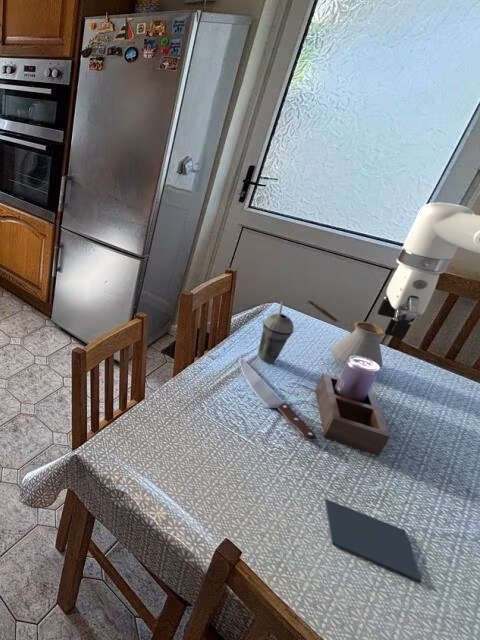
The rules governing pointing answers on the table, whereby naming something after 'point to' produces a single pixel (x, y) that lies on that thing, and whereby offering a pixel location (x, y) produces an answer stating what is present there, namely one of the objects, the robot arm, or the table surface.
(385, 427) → the box
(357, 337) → the coffee pot
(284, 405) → the steak knife
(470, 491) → the table surface
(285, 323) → the beverage cup
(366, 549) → the mat
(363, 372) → the beverage can
